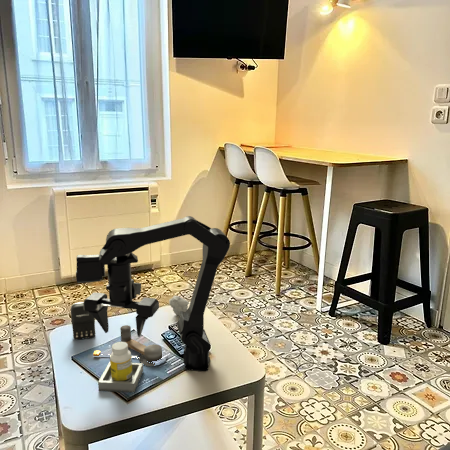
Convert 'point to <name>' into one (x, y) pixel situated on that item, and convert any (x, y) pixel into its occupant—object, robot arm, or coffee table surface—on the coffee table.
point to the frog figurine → (178, 304)
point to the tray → (115, 386)
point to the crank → (141, 345)
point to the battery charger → (82, 322)
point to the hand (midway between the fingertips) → (123, 334)
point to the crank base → (132, 357)
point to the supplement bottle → (121, 362)
